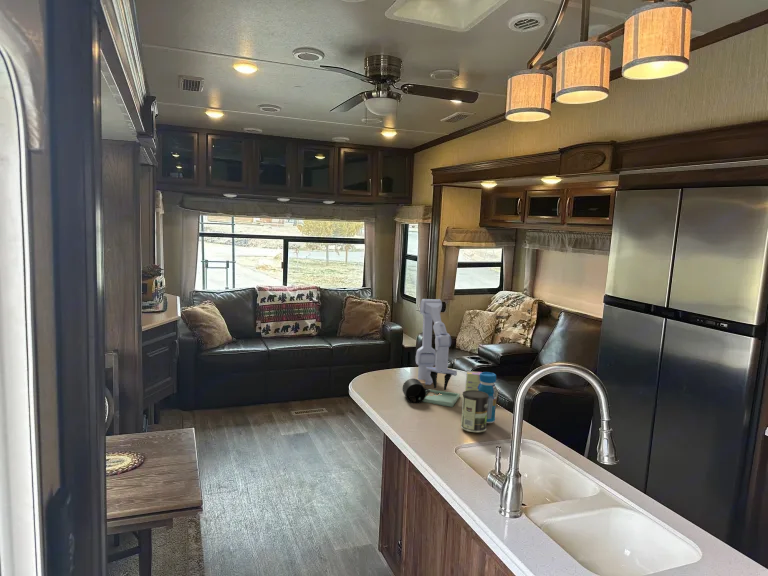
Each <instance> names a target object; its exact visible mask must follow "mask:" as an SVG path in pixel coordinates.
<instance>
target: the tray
mask: <svg viewBox="0 0 768 576" xmlns="http://www.w3.org/2000/svg"><path fill="white" fill-rule="evenodd" d="M428 389H429V390H430V392H429V393H433V392H434V394H438V393H440V394H442V395H438V396H437V395H436V396H435V395H433V394H432V395H433V396H430V395H431V394H430V395H427V394H428V393H426V397H425V399H424V400H423V401H422V402H421V403H428V404H431V403H432V404H433V405H436V404H437V405H438V406H443V407H448V408H454V406H455V404H456V403H457V402H458V400H459V399H460V396H461V394H460V393H457V392H451V391H450V392H449V391H445V390H444V391H443V390H436V389H430V388H428ZM426 391H427V390H426ZM420 399H421V397H419V400H420ZM432 404H431V405H432ZM437 405H436V406H437Z"/></svg>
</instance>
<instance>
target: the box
mask: <svg viewBox="0 0 768 576" xmlns="http://www.w3.org/2000/svg"><path fill="white" fill-rule="evenodd" d="M480 373H482V371H470V370H467V371H466V376H465V390H464V391H468V390H476V391H478V390H477V388H478V385H479V384H480V383H481V382H480Z"/></svg>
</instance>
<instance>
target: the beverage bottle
mask: <svg viewBox="0 0 768 576" xmlns="http://www.w3.org/2000/svg"><path fill="white" fill-rule="evenodd" d="M481 372H482V371H481ZM480 382H481V383H480V384H479V385H478V388H477V390H478V391H482V392H485V393H487V394H488V395H489V397H488V408H487V422H486V424H492V423H494V422H495V420H496V407H497V398H498V395H497V392H498V389H497V385H496V384H495V383H497V374H496V373H494V372H490V371H483V372H482V373H480Z"/></svg>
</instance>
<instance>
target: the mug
mask: <svg viewBox="0 0 768 576" xmlns="http://www.w3.org/2000/svg"><path fill="white" fill-rule="evenodd" d="M417 379H418V378H410V379H407V380H405V381H404V383H403V386H402V393H403V395H404V397H405V398H406V400H407V401H408V402H409V403H410V404H420V403H423V402H422V401H423V400H424V399H425V397H426V396H427V394H428V393H431V392H430V390H429V389H430V388H426V387H425V388H424V387H423V385H422V384H421V382H420V381H419V380H417ZM426 390H427V391H426ZM426 393H427V394H426ZM411 397H413V398H414V400H415V401H414V400H412V398H411ZM419 397H421V399H420V400H419Z"/></svg>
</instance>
